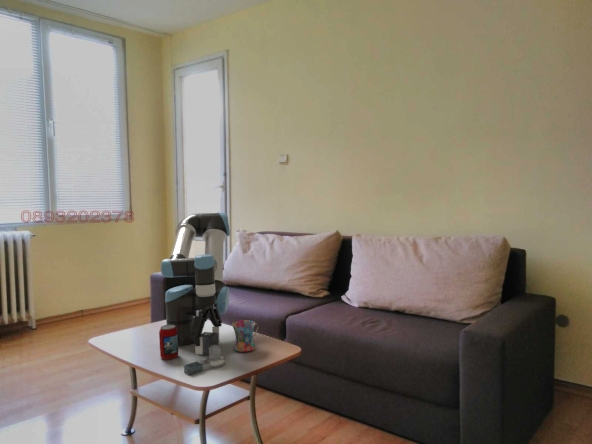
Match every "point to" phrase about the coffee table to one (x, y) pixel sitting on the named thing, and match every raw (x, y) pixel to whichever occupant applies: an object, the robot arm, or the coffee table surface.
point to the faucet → (206, 362)
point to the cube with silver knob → (208, 341)
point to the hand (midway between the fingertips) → (208, 348)
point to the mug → (244, 335)
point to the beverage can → (168, 342)
